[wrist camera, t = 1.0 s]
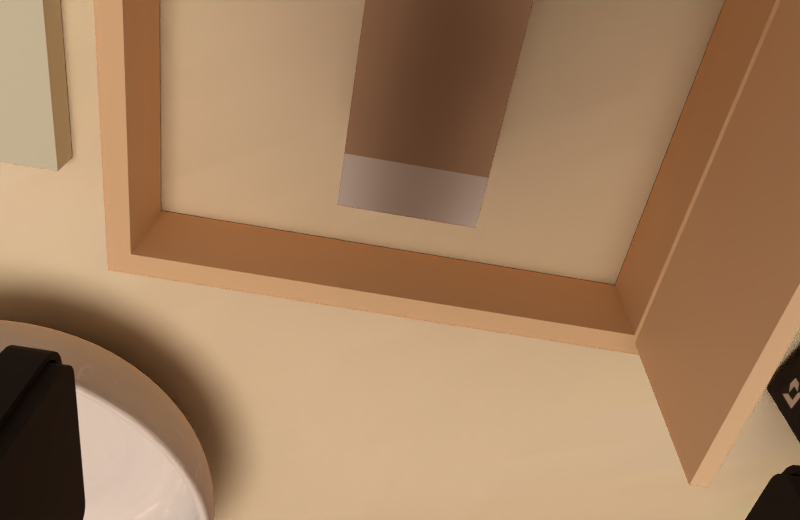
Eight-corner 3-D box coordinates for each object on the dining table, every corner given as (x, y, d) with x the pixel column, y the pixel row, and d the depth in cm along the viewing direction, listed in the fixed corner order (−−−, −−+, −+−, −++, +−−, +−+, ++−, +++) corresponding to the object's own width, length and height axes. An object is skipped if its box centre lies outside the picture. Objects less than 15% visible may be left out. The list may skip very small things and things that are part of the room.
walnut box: (518, -68, 27) (542, -36, 21) (467, 151, 32) (475, 227, 26) (387, -93, 27) (374, -68, 21) (355, 132, 32) (337, 205, 26)
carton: (842, -223, 24) (1138, -253, 14) (628, 305, 36) (706, 500, 26) (125, -370, 23) (-119, -521, 13) (140, 225, 35) (16, 396, 24)
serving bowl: (170, 578, 49) (134, 681, 43) (-154, 463, 44) (-244, 561, 38) (299, 372, 39) (275, 470, 33) (-100, 197, 34) (-211, 275, 29)
